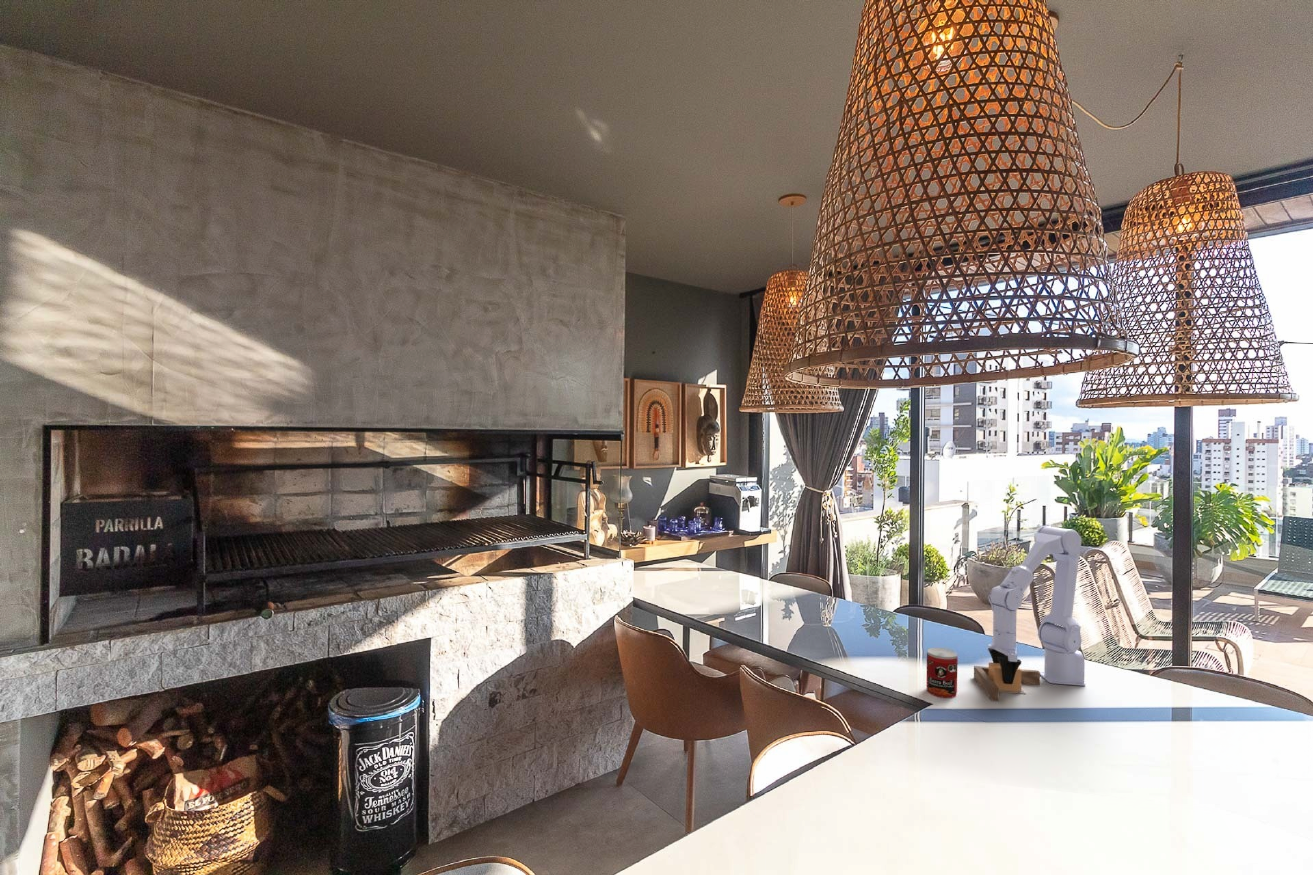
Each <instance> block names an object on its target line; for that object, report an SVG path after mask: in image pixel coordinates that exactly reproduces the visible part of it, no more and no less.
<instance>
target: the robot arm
mask: <svg viewBox="0 0 1313 875" xmlns="http://www.w3.org/2000/svg"><path fill="white" fill-rule="evenodd" d="M1033 540H1034V543H1033V545H1032V546H1031V548H1030V549H1029V551H1028V553H1027V554H1026V556H1025V558H1024V559H1023V561H1022V563H1021V565H1015V566H1013V567H1012V568H1011V570H1010V571H1009V573H1007V575H1006V576H1005V578H1004V579H1003V581H1002V582H1001V583H1000V585H997V586H995V587H992V588H991V590H990V591H989V594H988V596H987V597H988V601H989V603H990V605H991V607H990V608H991V611H992V616H993V618H992V619H993V621H992V639H991V641H992V642H991V643H990V644H989V643H988V645H987V647H988V648H987V651H988V652H989V655H990V657H991V660H992V663H1000V666H1001V671H1002V679H1003V683H1004V684H1012V683H1013V681H1014V677H1015V674H1016V671H1017V669H1018V667H1019V668H1020V666H1021V665H1022V661H1021V659H1019V658H1018V654H1017V651H1018V649H1017V610H1018V609H1019V608H1021V607H1022V605H1023V598H1024V596H1025V591H1026V590H1027V589H1028V588H1029V586H1030V585H1031V584H1032V582H1033V581H1034V578H1035V577H1034V572H1035V571H1036V569H1037V568H1039V567H1040V566H1041V564H1042V563H1043V562H1044V561H1045V560H1046V558H1047V557H1048V556H1049V555H1052V556H1053V558H1054V559H1055V560H1056V565H1055V573H1054V581H1053V588H1052V589H1053V590H1052V598H1051V607H1050V612H1049V613H1048V614H1046V615H1045V616H1043V617H1041V623H1040V625H1039V627H1038V630H1037V635H1038V639H1039V641H1040V642H1041V643H1042V647H1044V666H1043V667H1044V672H1043V671H1039V672H1040V677H1042V678H1043V679H1044V680H1045V681H1046V682H1047V683H1049V684H1057V685H1059V684H1060V685H1069V686H1070V685H1072V686H1084V687H1085V686H1086V682H1085V669H1086V668H1085V667H1086V666H1085V657H1084V655H1083V653H1082V651H1081V650H1079V649H1080V648H1081V646H1082V641H1083V640H1082V635H1081V627H1082V626H1080V624H1079V623H1078V622H1077V621H1076V620H1075V619H1074V618H1073V611H1074V603H1075V595H1076V587H1077V585H1076V584H1077V578H1078V577H1077V576H1078V569H1079V561H1080V556H1081V547H1082V537H1081V535H1080V534H1079V533H1078V532H1077V530H1075V529H1072V528H1071V529H1068V528H1067V529H1066V528H1060V527H1054V526H1048V525H1041V526H1040V527H1038V529H1037V531H1036V533H1034V535H1033Z"/></svg>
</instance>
